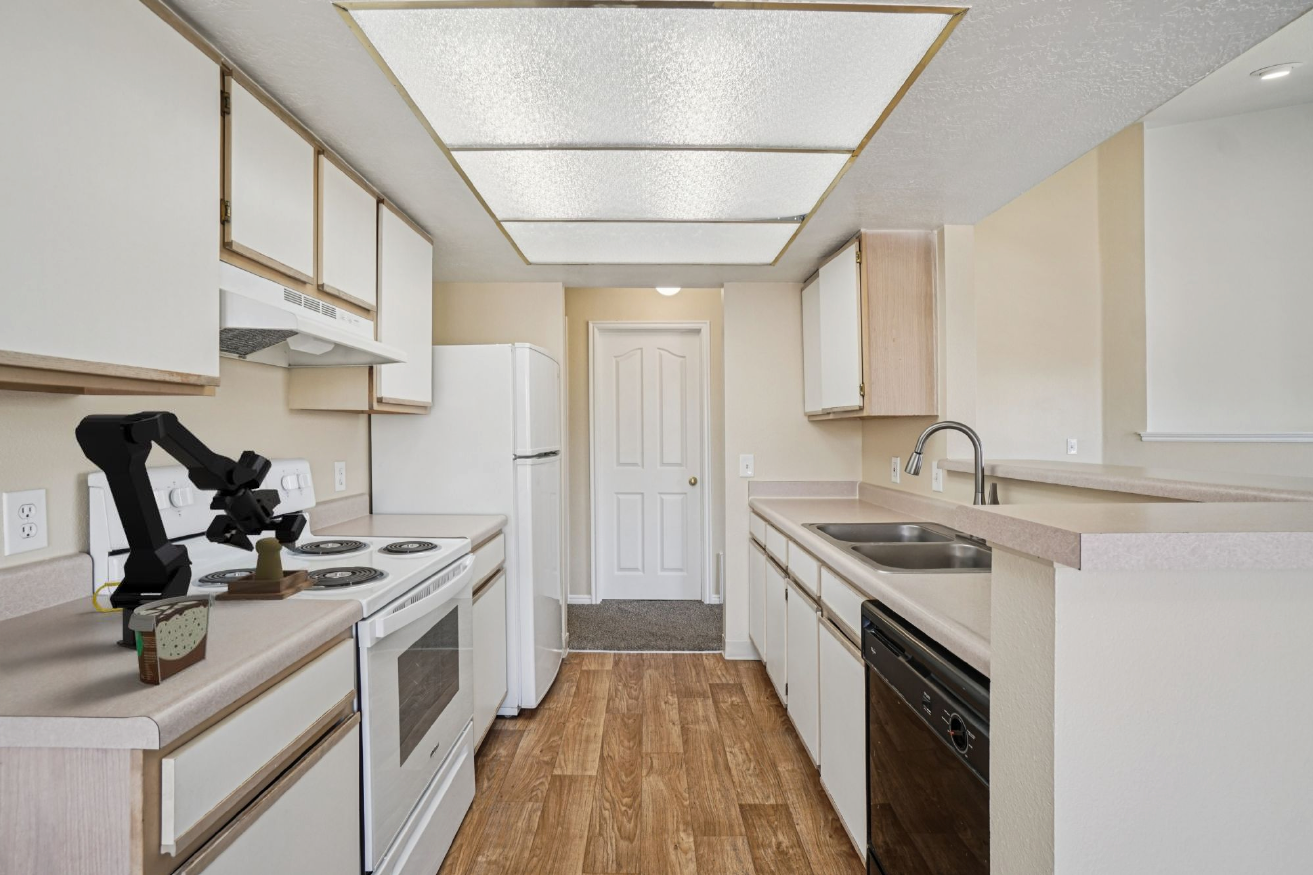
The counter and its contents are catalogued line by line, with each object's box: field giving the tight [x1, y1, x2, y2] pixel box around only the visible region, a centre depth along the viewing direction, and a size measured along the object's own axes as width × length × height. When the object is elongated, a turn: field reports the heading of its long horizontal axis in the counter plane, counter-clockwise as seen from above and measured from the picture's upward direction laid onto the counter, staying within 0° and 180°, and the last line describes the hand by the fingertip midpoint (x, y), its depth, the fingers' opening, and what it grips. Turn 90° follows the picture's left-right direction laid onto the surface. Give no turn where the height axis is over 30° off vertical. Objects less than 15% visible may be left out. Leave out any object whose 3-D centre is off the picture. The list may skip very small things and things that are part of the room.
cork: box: [254, 536, 284, 580], centre depth 133 cm, size 6×6×11 cm
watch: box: [91, 579, 123, 613], centre depth 118 cm, size 6×3×6 cm, turn 123°
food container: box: [128, 593, 214, 686], centre depth 87 cm, size 12×6×10 cm, turn 4°
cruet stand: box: [215, 569, 319, 601], centre depth 133 cm, size 14×14×4 cm
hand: (273, 549), depth 134 cm, fingers open, 9 cm apart
